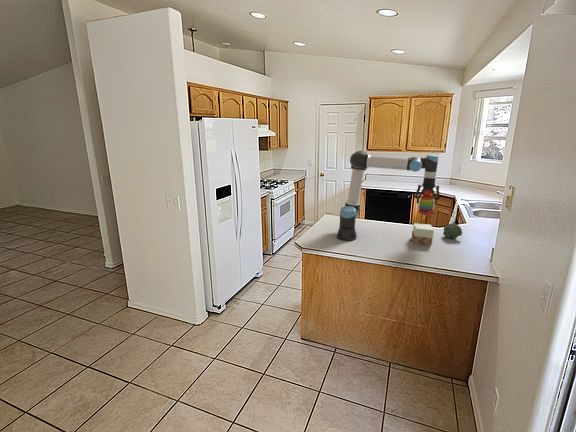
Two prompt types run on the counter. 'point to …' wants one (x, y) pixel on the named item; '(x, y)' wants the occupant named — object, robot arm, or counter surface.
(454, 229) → the vegetable
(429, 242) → the lower slab
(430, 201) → the stacking bear
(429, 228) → the upper slab
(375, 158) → the robot arm
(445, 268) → the counter surface
